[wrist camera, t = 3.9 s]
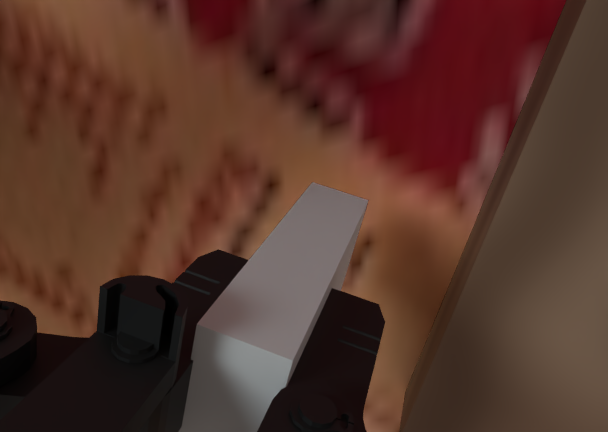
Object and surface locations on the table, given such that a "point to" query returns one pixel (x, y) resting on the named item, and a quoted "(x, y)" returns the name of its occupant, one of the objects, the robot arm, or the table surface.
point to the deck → (533, 264)
